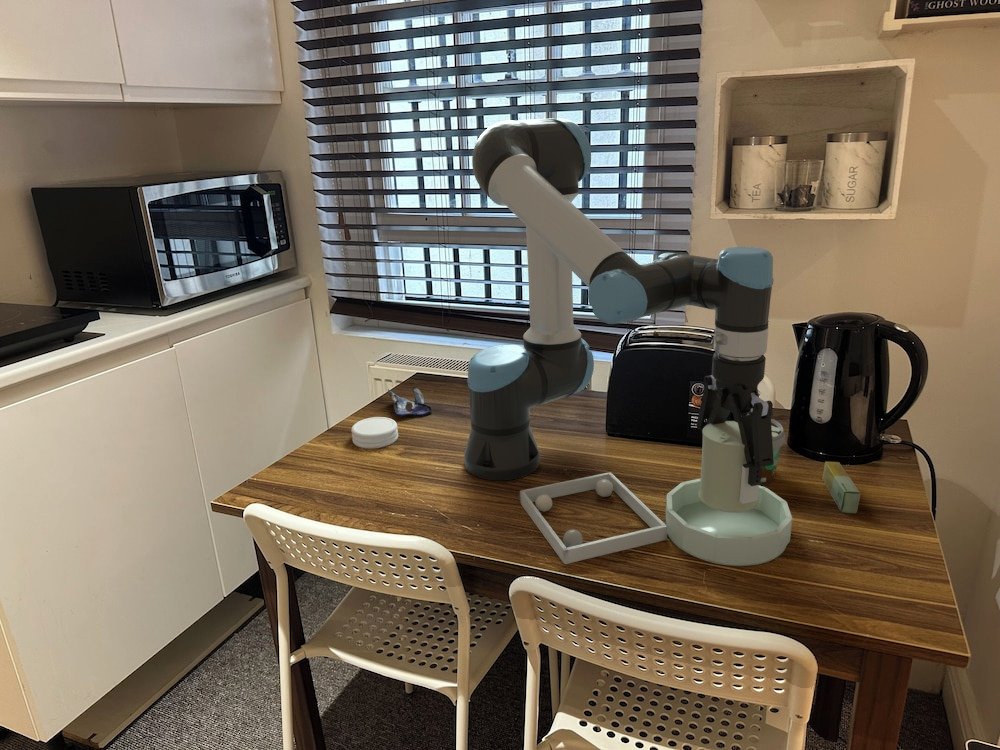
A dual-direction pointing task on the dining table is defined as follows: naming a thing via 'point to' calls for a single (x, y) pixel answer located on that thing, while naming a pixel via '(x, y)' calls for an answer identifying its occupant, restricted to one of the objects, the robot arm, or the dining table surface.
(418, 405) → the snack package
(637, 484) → the dining table surface
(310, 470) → the dining table surface
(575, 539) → the pebble
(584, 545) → the parts tray
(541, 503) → the pebble
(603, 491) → the light grey ball
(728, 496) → the can
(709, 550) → the bowl
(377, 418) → the round white tin
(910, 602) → the dining table surface
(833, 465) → the medication box
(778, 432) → the food container
